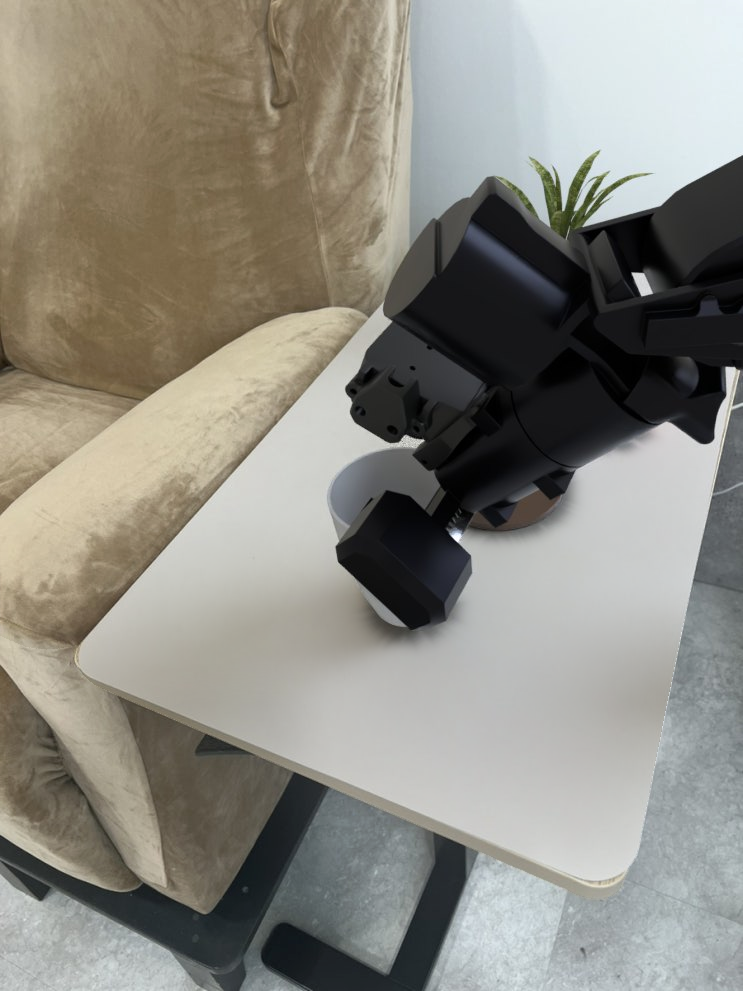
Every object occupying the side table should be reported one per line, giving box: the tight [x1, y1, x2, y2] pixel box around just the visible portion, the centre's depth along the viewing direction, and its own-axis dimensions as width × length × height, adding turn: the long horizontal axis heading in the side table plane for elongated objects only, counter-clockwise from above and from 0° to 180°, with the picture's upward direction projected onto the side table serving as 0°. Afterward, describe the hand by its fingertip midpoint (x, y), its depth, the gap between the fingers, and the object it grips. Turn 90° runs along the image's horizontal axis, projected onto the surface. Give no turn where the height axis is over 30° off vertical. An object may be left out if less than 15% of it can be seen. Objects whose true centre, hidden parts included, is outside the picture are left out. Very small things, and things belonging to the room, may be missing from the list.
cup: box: [326, 446, 462, 628], centre depth 49 cm, size 8×8×10 cm
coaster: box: [468, 489, 564, 531], centre depth 61 cm, size 10×10×1 cm
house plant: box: [494, 149, 655, 241], centre depth 74 cm, size 14×14×16 cm
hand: (380, 523), depth 49 cm, fingers closed on cup, 8 cm apart
